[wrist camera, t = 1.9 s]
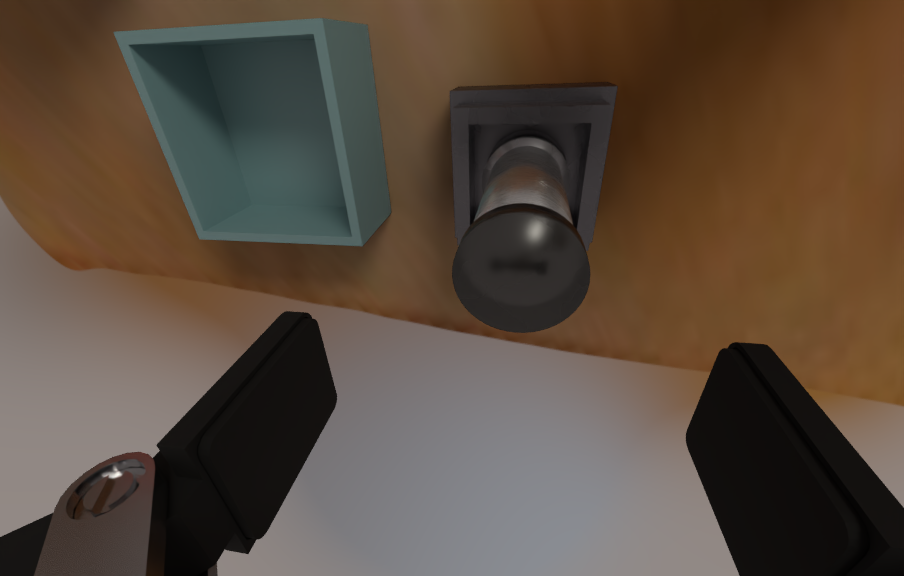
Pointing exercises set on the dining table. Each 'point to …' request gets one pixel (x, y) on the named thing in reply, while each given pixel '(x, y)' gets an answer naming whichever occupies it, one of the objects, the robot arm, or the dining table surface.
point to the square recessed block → (542, 109)
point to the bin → (267, 127)
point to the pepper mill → (522, 240)
